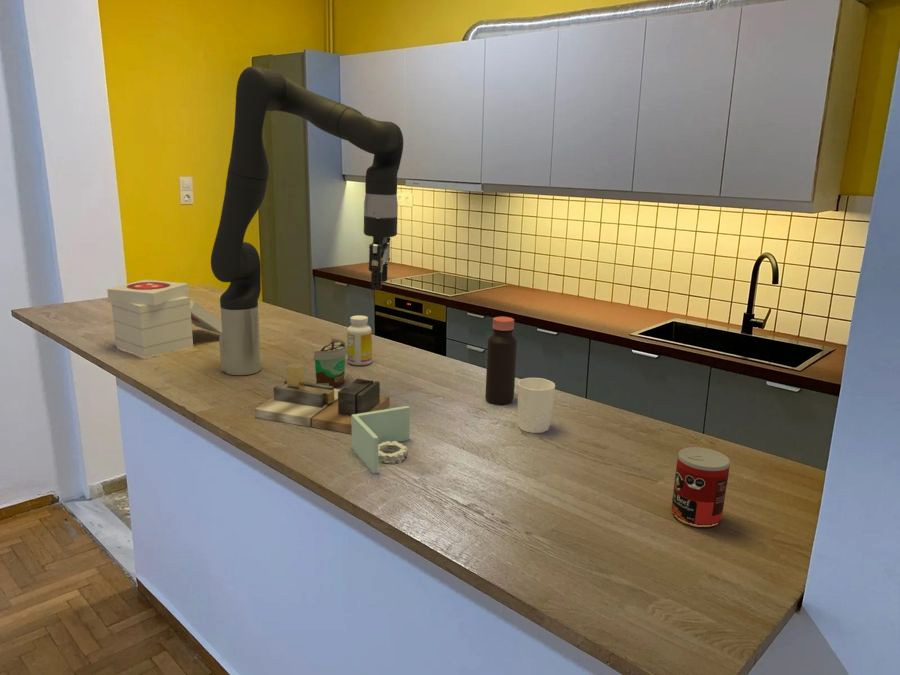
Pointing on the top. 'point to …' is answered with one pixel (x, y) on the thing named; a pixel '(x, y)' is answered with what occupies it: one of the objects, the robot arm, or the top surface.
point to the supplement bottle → (359, 341)
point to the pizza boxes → (157, 317)
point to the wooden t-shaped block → (297, 382)
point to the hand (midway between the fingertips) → (379, 285)
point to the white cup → (535, 404)
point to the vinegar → (501, 362)
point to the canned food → (700, 485)
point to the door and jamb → (323, 405)
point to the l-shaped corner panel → (380, 436)
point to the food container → (331, 363)
